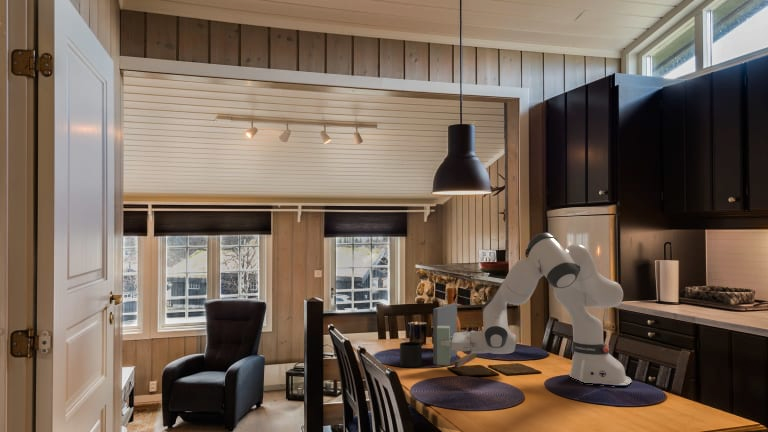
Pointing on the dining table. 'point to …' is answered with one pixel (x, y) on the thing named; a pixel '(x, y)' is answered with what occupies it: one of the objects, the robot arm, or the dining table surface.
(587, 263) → the robot arm
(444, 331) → the sage-green cabinet block
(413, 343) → the mug
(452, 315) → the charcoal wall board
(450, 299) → the amber bottle
